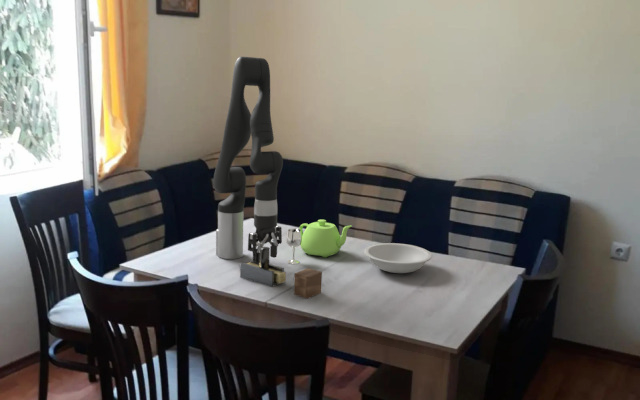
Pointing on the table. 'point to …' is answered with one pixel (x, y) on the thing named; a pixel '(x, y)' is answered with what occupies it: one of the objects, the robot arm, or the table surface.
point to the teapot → (322, 238)
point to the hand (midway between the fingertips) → (265, 260)
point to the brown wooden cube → (307, 283)
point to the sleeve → (259, 273)
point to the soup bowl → (397, 257)
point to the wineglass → (294, 242)
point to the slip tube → (264, 263)
